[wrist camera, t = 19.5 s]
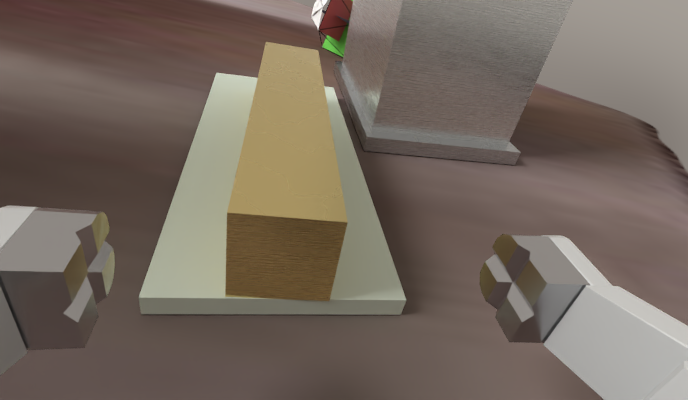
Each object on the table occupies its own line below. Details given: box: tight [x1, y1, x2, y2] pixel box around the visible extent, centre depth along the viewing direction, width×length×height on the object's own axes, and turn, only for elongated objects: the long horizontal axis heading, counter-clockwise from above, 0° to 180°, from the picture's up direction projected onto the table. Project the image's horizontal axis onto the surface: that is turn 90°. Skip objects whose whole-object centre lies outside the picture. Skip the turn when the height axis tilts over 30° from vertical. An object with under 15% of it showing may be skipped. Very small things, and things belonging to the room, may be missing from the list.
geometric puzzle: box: [311, 0, 353, 57], centre depth 43 cm, size 7×7×8 cm
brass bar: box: [225, 42, 348, 301], centre depth 20 cm, size 19×4×4 cm, turn 6°
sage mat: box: [139, 73, 406, 315], centre depth 23 cm, size 22×9×1 cm, turn 8°
